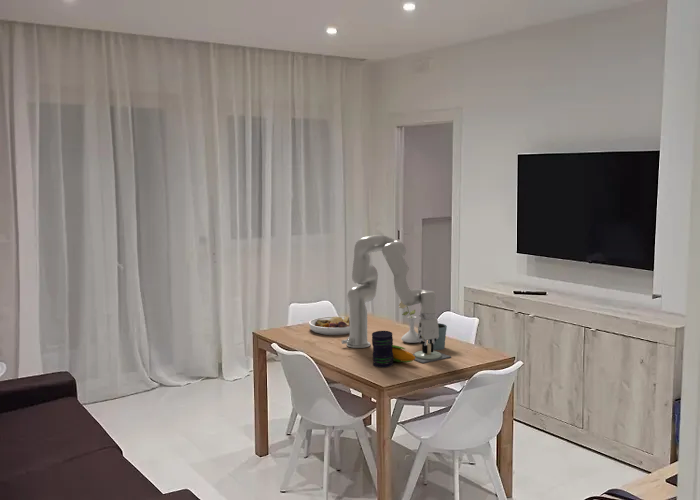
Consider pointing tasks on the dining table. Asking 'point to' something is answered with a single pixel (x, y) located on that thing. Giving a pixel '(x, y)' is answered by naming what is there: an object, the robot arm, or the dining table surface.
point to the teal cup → (440, 338)
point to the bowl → (330, 325)
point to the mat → (433, 359)
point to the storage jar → (382, 348)
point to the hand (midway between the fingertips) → (427, 352)
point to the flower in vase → (411, 334)
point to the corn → (401, 354)
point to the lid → (428, 354)
